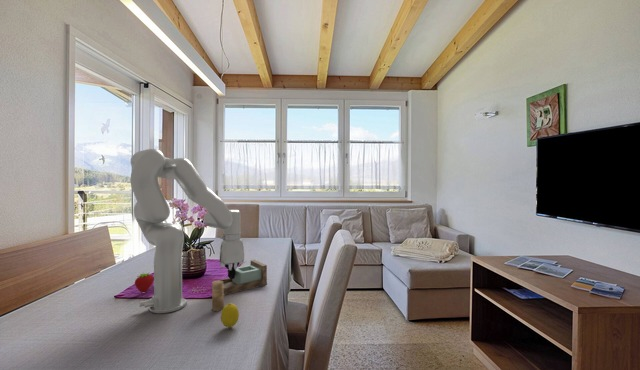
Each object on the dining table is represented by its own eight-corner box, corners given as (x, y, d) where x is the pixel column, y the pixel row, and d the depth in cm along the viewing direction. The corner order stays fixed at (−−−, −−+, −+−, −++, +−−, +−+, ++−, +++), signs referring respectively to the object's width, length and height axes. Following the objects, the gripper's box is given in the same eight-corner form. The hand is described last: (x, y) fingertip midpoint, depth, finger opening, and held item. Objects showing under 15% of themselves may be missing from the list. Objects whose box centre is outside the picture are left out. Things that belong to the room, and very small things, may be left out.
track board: (224, 294, 124) (224, 273, 124) (213, 286, 134) (213, 266, 134) (266, 284, 136) (266, 265, 136) (254, 277, 146) (254, 259, 146)
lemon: (229, 333, 91) (228, 308, 91) (217, 329, 94) (217, 304, 94) (242, 326, 96) (242, 302, 96) (230, 322, 99) (230, 298, 99)
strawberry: (157, 291, 128) (157, 268, 128) (139, 297, 121) (139, 273, 121) (149, 289, 131) (148, 267, 131) (131, 295, 124) (131, 271, 124)
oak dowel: (214, 312, 107) (214, 284, 107) (210, 308, 110) (210, 282, 110) (225, 309, 109) (225, 282, 109) (221, 305, 113) (221, 279, 113)
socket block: (240, 286, 130) (240, 273, 130) (232, 281, 138) (232, 268, 138) (261, 282, 136) (261, 269, 136) (251, 276, 144) (251, 264, 144)
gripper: (218, 240, 125) (218, 283, 125) (250, 236, 135) (250, 276, 134) (212, 237, 131) (212, 279, 131) (244, 234, 140) (243, 273, 140)
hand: (231, 277), depth 133 cm, fingers closed
